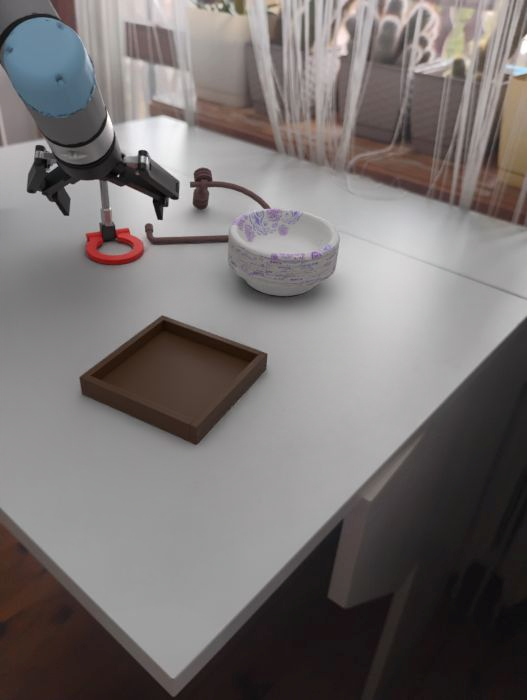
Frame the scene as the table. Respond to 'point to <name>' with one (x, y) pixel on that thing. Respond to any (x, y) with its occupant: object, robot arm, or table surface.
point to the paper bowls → (282, 250)
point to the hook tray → (175, 377)
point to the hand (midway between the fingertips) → (114, 209)
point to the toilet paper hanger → (203, 207)
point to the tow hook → (111, 235)
